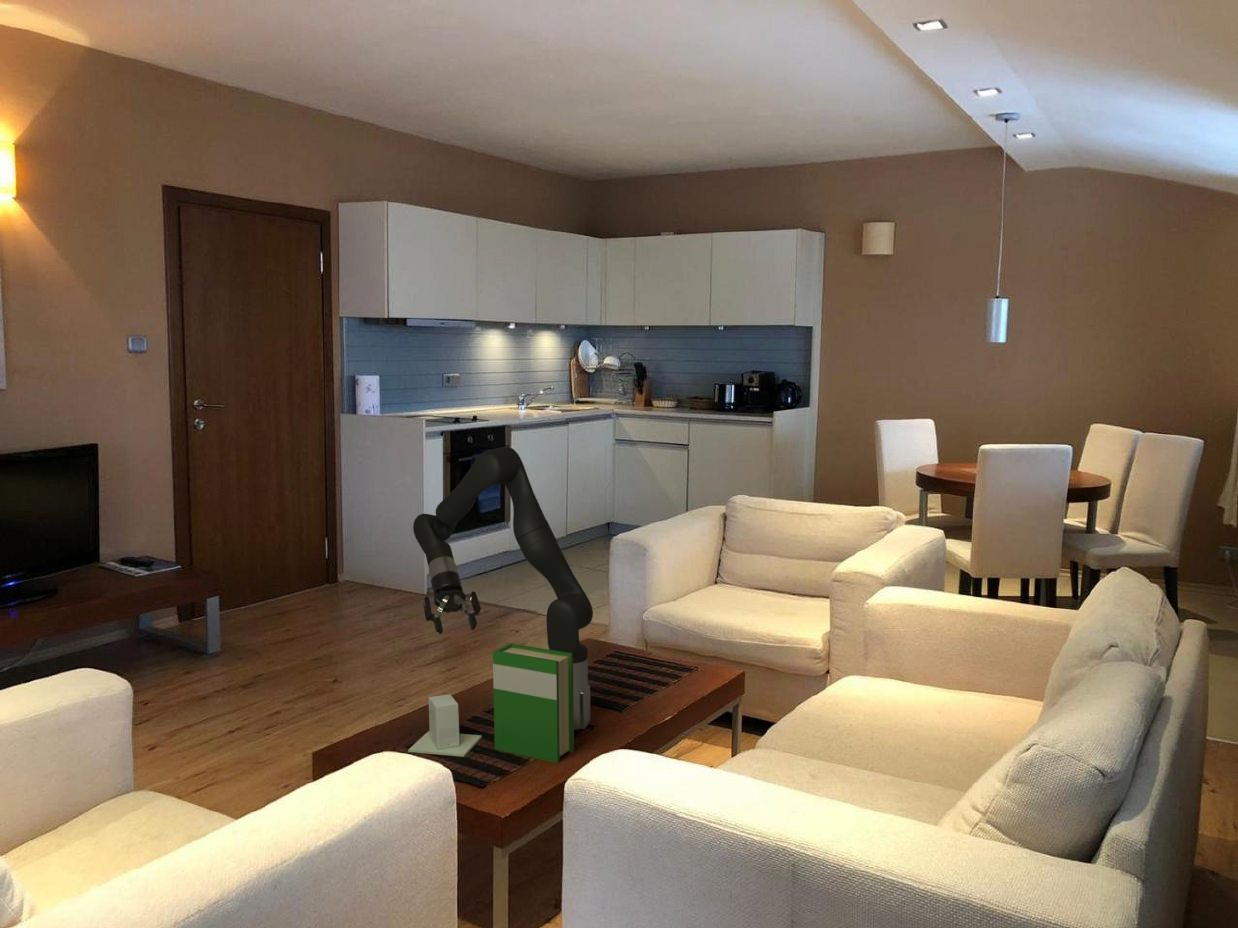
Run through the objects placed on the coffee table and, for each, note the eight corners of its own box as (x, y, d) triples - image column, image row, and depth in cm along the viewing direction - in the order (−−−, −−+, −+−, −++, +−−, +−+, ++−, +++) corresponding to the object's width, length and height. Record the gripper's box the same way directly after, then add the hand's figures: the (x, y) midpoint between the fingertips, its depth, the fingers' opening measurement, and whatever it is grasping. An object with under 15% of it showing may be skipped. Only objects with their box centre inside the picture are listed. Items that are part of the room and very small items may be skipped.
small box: (459, 746, 240) (458, 703, 239) (436, 750, 238) (435, 707, 237) (451, 734, 248) (450, 693, 246) (429, 738, 245) (428, 696, 244)
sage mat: (481, 737, 247) (481, 735, 247) (463, 756, 235) (463, 754, 235) (428, 733, 250) (428, 731, 250) (408, 751, 238) (408, 749, 238)
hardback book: (573, 751, 238) (573, 653, 235) (557, 763, 232) (556, 661, 229) (512, 738, 246) (510, 643, 244) (494, 748, 240) (492, 651, 237)
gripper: (420, 572, 261) (432, 626, 252) (473, 567, 267) (487, 619, 258) (416, 588, 267) (427, 641, 258) (468, 582, 273) (481, 634, 264)
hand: (457, 630), depth 258 cm, fingers open, 8 cm apart
